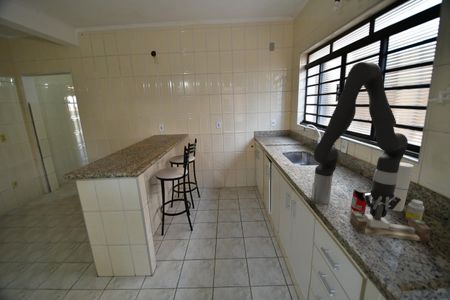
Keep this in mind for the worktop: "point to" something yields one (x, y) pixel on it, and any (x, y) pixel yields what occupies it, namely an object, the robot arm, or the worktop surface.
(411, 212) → the supplement bottle
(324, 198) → the robot arm
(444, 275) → the worktop surface
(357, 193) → the beverage can
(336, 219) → the worktop surface
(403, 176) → the cylindrical container
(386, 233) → the rail
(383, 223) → the carriage
